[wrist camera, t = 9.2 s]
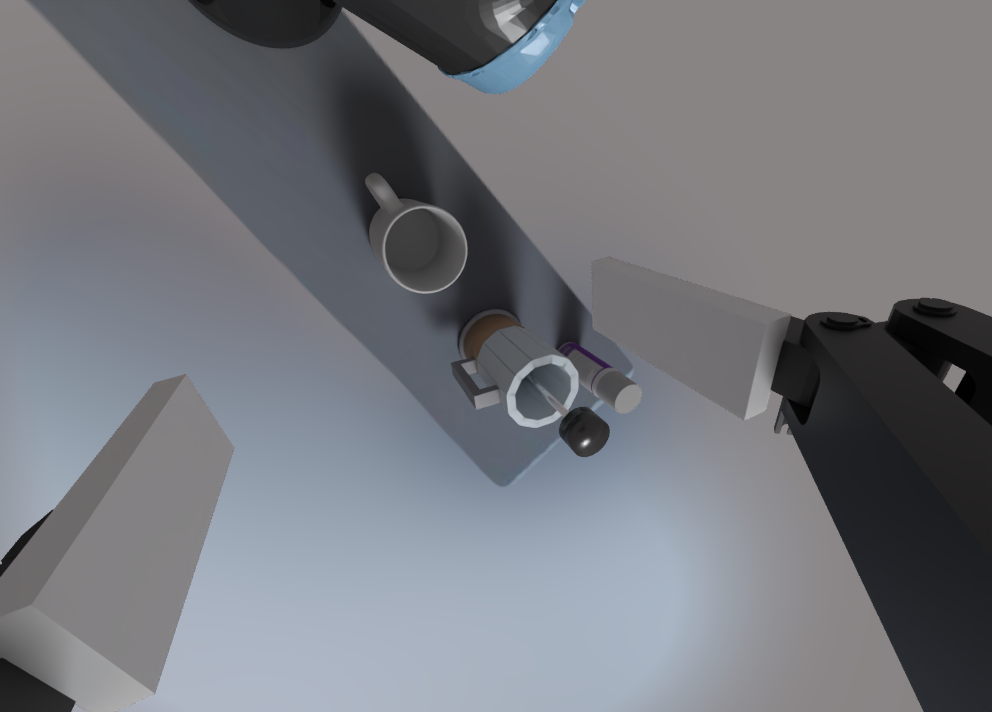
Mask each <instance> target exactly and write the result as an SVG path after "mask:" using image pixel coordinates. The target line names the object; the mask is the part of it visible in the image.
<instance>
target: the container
mask: <svg viewBox="0 0 992 712" xmlns="http://www.w3.org/2000/svg"><path fill="white" fill-rule="evenodd" d="M557 351H558V352H560V353H561V354H562V355H564V356H565V357H567V358H568V359H569V360H570V361H571V363H572V364H573V366H574V367H575V369H576V370H577V371H578V382H579V383H580V384H582V385H583V386H584V387H585V388H587V389H588V390H589V391H590V392H592V393H593V394H594V395H595V396H597V397H598V398H600V399H601V400H602V401H604V402H605V403H606V404H608V405H609V406H610V407H612V408H613V409H614V410H616V411H617V412H618V413H621V414H625V413H628V412H630V411H632V410H633V409H634V408H635V407H636V406H637V405H638V404H639V402H640V400H641V397H642V390H641V387H640V386H638V385H637V384H636V383H634V382H633V381H631V380H630V379H629V378H627V377H626V376H624V375H623V374H621V373H620V372H619V371H617V370H616V369H614V368H613V367H611V366H610V365H608V364H607V363H605V362H604V361H602V360H601V359H599V358H598V357H596V356H594V355H593V354H591V353H590V352H588V351H587V350H585V349H584V348H582V347H581V346H579V345H578V344H576V343H574V342H567V343H565V344H563V345H562V346H560V348H559V349H558V350H557Z"/></svg>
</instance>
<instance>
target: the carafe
mask: <svg viewBox="0 0 992 712" xmlns="http://www.w3.org/2000/svg"><path fill="white" fill-rule="evenodd" d="M458 346H459V353H460V356H461V358H462V360H460V361H456V362H453V363H451V366H452V371H453V376H454V377H455V379H456V380H457V382H458V383H459V385H460V386H461V388H462V389H463V391H464V392H465V394H466V395H467V397H468V398H469V400H470V401H471V403H472V404H473V406H474V407H475V409H476V410H478V409H481V408H484V407H487V406H490V405H493V404H497V403H500V404H501V405H502V406H503V407H504V409H505V410H506V411H507V412H508V414H509V415H510V416H511V417H512V418H513V419H514V420H515V421H516V422H517V423H518V424H519V425H521V426H527V427H533V428H538V427H541V426H543V425H546V424H549V423H552V422H554V421H556V420H557V419H558V418H559V417H560V416H561V414H560V413H559V412H558V411H557V410H556V409H555V408H554V407H553V406H552V405H551V404H550V403H549V402H548V401H547V400H546V399H545V398H544V397H543V396H542V395H541V394H540V393H539V392H538V391H537V390H536V389H535V388H534V387H533V386H532V385H531V384H530V383H529V382H528V381H527V380H526V379H525V378H524V377H525V376H526V375H527V374H530V375H531V376H532V377H533V378H534V379H535V380H536V381H537V382H538V383H539V384H541V385H542V386H543V387H544V388H545V389H546V390H547V391H548V392H549V393H550V394H551V395H552V396H553V397H554V398H555V399H556V400H557V401H558V402H559V403H561V404H562V405H563V406H564V407H565V408H566V409H567V410H568V409H569V408H570V406H571V404H572V402H573V400H574V398H575V396H576V394H577V392H578V371H577V370H576V369H575V367H574V366H573V364H572V363H571V361H570V360H569V359H568V358H567V357H565V356H564V355H562V354H561V353H560V352H558V351H557V350H556V349H554V348H553V347H552V346H550V345H549V344H548V343H546V342H545V341H543V340H542V339H541V338H539V337H538V336H537V335H535V334H534V333H533V332H531V331H530V330H527V329H525V328H524V327H523V326H521V323H520V322H519V320H518V319H517V318H516V317H515V316H514V315H512V314H511V313H509V312H508V311H505V310H502V309H496V308H495V309H487V310H483V311H481V312H479V313H477V314H476V315H474V316H473V317H472V318H471V319H470V320H469V321H468V322H467V323H466V324H465V326H464V327H463V329H462V331H461V334H460V337H459V344H458ZM476 372H477V373H478V375H479V377H480V378H481V379H482V381H483V382H484V383H485V384H486V386H487V388H484V389H479V388H478V387H477V385H476V384H475V383H474V381H473V380H472V379H471V377H470V376H469V374H472V373H476ZM523 378H524V379H523ZM522 379H523V380H522ZM568 407H569V408H568Z"/></svg>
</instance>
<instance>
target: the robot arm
mask: <svg viewBox="0 0 992 712" xmlns="http://www.w3.org/2000/svg"><path fill="white" fill-rule="evenodd" d="M188 1H189V2H190V3H191V4H192V5H193V6H194V7H195V8H197V9H198V10H199V11H200V12H201V13H202V14H203V15H205V16H206V17H207V18H208V19H209V20H211V21H212V22H214V23H215V24H216V25H218V26H219V27H221V28H222V29H224V30H225V31H227V32H229V33H231V34H232V35H234V36H236V37H238V38H240V39H243V40H245V41H248V42H250V43H253V44H257V45H260V46H265V47H270V48H294V47H299V46H303V45H305V44H308V43H310V42H312V41H314V40H316V39H318V38H319V37H320V36H322V35H323V34H324V33H325V32H326V31H327V30H328V29H329V28H330V27H331V26H332V25H333V23H334V22H335V20H336V19H337V17H338V15H339V13H340V11H341V9H342V7H343V8H345V9H347V10H348V11H350V12H351V13H353V14H355V15H356V16H358V17H360V18H361V19H363V20H364V21H366V22H368V23H369V24H371V25H372V26H374V27H376V28H377V29H379V30H380V31H382V32H384V33H386V34H387V35H389V36H390V37H392V38H393V39H395V40H397V41H398V42H400V43H401V44H403V45H405V46H406V47H408V48H409V49H411V50H413V51H414V52H416V53H418V54H419V55H421V56H422V57H424V58H426V59H427V60H429V61H430V62H432V63H434V64H435V65H437V66H438V68H439V70H440V71H441V72H442V73H443V74H445V75H446V76H448V77H452V78H454V79H460V80H461V81H463V82H465V83H467V84H469V85H470V86H472V87H474V88H476V89H478V90H479V91H482V92H484V93H491V94H501V93H505V92H508V91H510V90H512V89H514V88H516V87H518V86H519V85H521V84H522V83H524V82H525V81H526V80H527V79H528V78H530V77H531V76H532V75H533V74H534V73H535V72H536V71H537V70H538V69H539V68H540V67H541V66H542V65H543V64H544V63H545V61H546V60H547V59H548V58H549V57H550V55H551V54H552V53H553V52H554V51H555V49H556V48H557V47H558V45H559V44H560V42H561V41H562V39H563V38H564V37H565V35H566V34H567V32H568V31H569V29H570V28H571V26H572V24H573V22H574V18H573V16H574V13H575V12H576V10H577V9H578V8H579V7H580V6H581V5H582V4H583V3H584V2H585V1H586V0H188ZM592 310H593V329H594V330H596V331H597V332H599V333H601V334H602V335H604V336H605V337H607V338H609V339H610V340H612V341H614V342H615V343H617V344H619V345H620V346H622V347H624V348H626V349H627V350H629V351H630V352H632V353H634V354H635V355H637V356H639V357H640V358H642V359H643V360H645V361H647V362H648V363H650V364H652V365H653V366H655V367H657V368H658V369H660V370H662V371H663V372H665V373H667V374H668V375H670V376H672V377H673V378H675V379H677V380H678V381H680V382H681V383H683V384H685V385H686V386H688V387H690V388H691V389H693V390H695V391H696V392H698V393H700V394H701V395H703V396H704V397H706V398H708V399H709V400H711V401H713V402H714V403H716V404H718V405H719V406H721V407H723V408H724V409H726V410H728V411H729V412H731V413H733V414H734V415H736V416H737V417H739V418H741V419H742V420H746V419H748V418H751V417H753V416H755V415H757V414H759V413H761V412H764V411H766V408H767V404H768V401H769V397H770V393H771V390H772V391H774V392H776V393H778V394H780V395H782V396H783V398H782V402H781V406H780V409H779V412H778V416H777V419H776V423H775V427H774V431H775V433H780V431H781V427H782V426H783V425H784V424H788V426H789V428H788V431H787V434H790V435H793V436H794V438H795V440H796V443H797V445H798V447H799V449H800V451H801V453H802V455H803V457H804V460H805V461H806V464H807V466H808V468H809V470H810V472H811V474H812V477H813V479H814V481H815V483H816V485H817V487H818V489H819V491H820V493H821V496H822V498H823V500H824V502H825V504H826V506H827V508H828V510H829V512H830V515H831V516H832V519H833V521H834V523H835V525H836V527H837V529H838V531H839V534H840V536H841V538H842V540H843V542H844V544H845V546H846V548H847V550H848V553H849V555H850V557H851V559H852V561H853V563H854V565H855V567H856V570H857V572H858V574H859V576H860V578H861V580H862V582H863V584H864V586H865V589H866V591H867V593H868V595H869V597H870V599H871V601H872V603H873V606H874V608H875V610H876V612H877V614H878V616H879V618H880V620H881V623H882V625H883V626H884V629H885V631H886V633H887V635H888V637H889V639H890V641H891V644H892V646H893V647H894V650H895V652H896V654H897V656H898V658H899V661H900V662H901V665H902V667H903V669H904V671H905V673H906V675H907V677H908V680H909V682H910V684H911V686H912V688H913V690H914V692H915V694H916V697H917V699H918V701H919V703H920V705H921V707H922V709H923V711H924V712H992V317H990V316H988V315H985V314H983V313H980V312H978V311H975V310H973V309H970V308H968V307H965V306H961V305H958V304H955V303H951V302H948V301H945V300H942V299H935V298H932V299H930V298H920V299H907V300H902V301H899V302H897V303H895V304H894V306H893V309H892V311H891V313H890V316H889V318H888V321H885V322H879V323H874V322H873V321H871V320H869V319H868V318H866V317H862V316H857V315H852V314H848V313H841V312H821V313H815V314H812V315H809V316H808V317H807V318H806V319H805V320H802V319H798V318H795V317H792V316H791V314H789V313H786V312H782V311H779V310H776V309H773V308H770V307H767V306H763V305H760V304H757V303H754V302H751V301H748V300H744V299H741V298H738V297H735V296H731V295H728V294H726V293H722V292H719V291H716V290H713V289H710V288H707V287H703V286H700V285H697V284H694V283H691V282H688V281H684V280H681V279H678V278H675V277H672V276H669V275H666V274H662V273H659V272H656V271H653V270H650V269H646V268H643V267H640V266H637V265H634V264H631V263H628V262H624V261H621V260H618V259H615V258H612V257H606V258H602V259H599V260H595V261H592ZM952 364H954V365H956V366H957V367H959V368H961V369H963V370H965V371H966V374H965V375H964V377H963V378H962V380H961V382H960V384H959V386H958V388H957V389H956V391H955V393H954V392H953V391H952V390H951V389H949V388H948V387H947V386H946V385H945V384H944V383H943V380H944V378H945V377H946V375H947V372H948V371H949V369H950V367H951V365H952ZM233 451H234V447H233V445H232V443H231V442H230V440H229V439H228V437H227V436H226V434H225V433H224V431H223V429H222V428H221V426H220V425H219V424H218V422H217V420H216V419H215V417H214V416H213V414H212V413H211V411H210V409H209V408H208V406H207V405H206V403H205V402H204V400H203V399H202V397H201V396H200V394H199V393H198V391H197V389H196V388H195V386H194V385H193V383H192V382H191V380H190V379H189V377H188V376H187V374H184V375H181V376H177V377H174V378H170V379H166V380H163V381H159V382H156V383H154V384H153V385H152V387H151V388H150V389H149V390H148V392H147V393H146V394H145V396H144V397H143V398H142V399H141V401H140V402H139V403H138V404H137V405H136V407H135V408H134V409H133V411H132V412H131V413H130V414H129V416H128V417H127V418H126V419H125V421H124V422H123V423H122V424H121V426H120V427H119V428H118V429H117V431H116V432H115V433H114V434H113V436H112V437H111V438H110V440H109V441H108V442H107V443H106V445H105V446H104V447H103V449H102V450H101V451H100V452H99V453H98V455H97V456H96V457H95V458H94V460H93V461H92V462H91V463H90V465H89V466H88V467H87V469H86V470H85V471H84V472H83V474H82V475H81V476H80V477H79V479H78V480H77V481H76V482H75V484H74V485H73V486H72V487H71V489H70V490H69V491H68V493H67V494H66V495H65V496H64V498H63V499H62V500H61V501H60V503H59V504H58V505H57V506H56V508H55V509H54V510H51V511H50V512H49V513H48V514H47V515H46V516H44V517H43V518H42V519H41V520H40V521H38V522H37V523H36V524H35V525H34V526H32V527H31V528H30V529H29V530H28V531H26V532H25V533H24V534H23V535H22V536H21V537H20V538H19V540H18V541H17V542H16V543H15V544H14V546H13V547H12V548H11V549H10V550H9V552H8V553H7V554H6V555H5V557H4V558H3V559H2V560H1V561H2V564H1V565H0V712H71V711H72V708H73V707H74V704H75V705H77V706H78V707H80V708H82V709H83V710H85V711H87V712H117V711H119V710H121V709H123V708H126V707H128V706H130V705H132V704H134V703H136V702H138V701H140V700H143V699H145V698H147V697H149V696H151V695H153V694H155V692H156V689H157V686H158V683H159V680H160V677H161V674H162V671H163V667H164V664H165V661H166V658H167V655H168V652H169V649H170V645H171V643H172V640H173V637H174V633H175V630H176V627H177V624H178V621H179V618H180V615H181V612H182V608H183V606H184V602H185V599H186V596H187V593H188V590H189V587H190V584H191V581H192V578H193V575H194V572H195V568H196V565H197V562H198V559H199V556H200V553H201V550H202V547H203V544H204V541H205V538H206V535H207V531H208V528H209V525H210V522H211V519H212V516H213V513H214V510H215V506H216V503H217V500H218V497H219V494H220V491H221V488H222V485H223V482H224V479H225V476H226V473H227V470H228V467H229V463H230V460H231V457H232V454H233Z"/></svg>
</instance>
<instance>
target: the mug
mask: <svg viewBox="0 0 992 712" xmlns="http://www.w3.org/2000/svg"><path fill="white" fill-rule="evenodd" d="M365 183H366V186H367V187H368V189H369V191H370V192H371V194H372V195H373V197H374V198H375V200H376V201H377V203H378V204H379V206H380V208H379V210H378V211H377V212H376V213H375V215H374V217H373V219H372V221H371V224H370V229H369V238H370V244H371V247H372V250H373V252H374V254H375V255H376V257H377V258H378V259H379V261H380V262H381V263H382V265H383V266H384V267H385V269H386V270H387V272H388V273H389V275H390V276H391V277H392V278H393V279H394V280H395V281H396V282H397V283H398V284H399V285H401V286H402V287H404V288H406V289H408V290H410V291H413V292H417V293H434V292H438V291H441V290H443V289H445V288H447V287H448V286H450V285H451V284H452V283H453V282H454V281H455V280H456V279H457V278H458V277H459V275H460V274H461V272H462V270H463V268H464V266H465V263H466V259H467V240H466V236H465V234H464V231H463V229H462V227H461V225H460V224H459V222H458V221H457V220H456V219H455V218H454V217H453V216H452V215H451V214H450V213H448V212H447V211H446V210H444V209H442V208H440V207H437V206H434V205H431V204H426V203H422V202H419V201H416V200H412V199H398V197H397V196H396V194H395V193H394V191H393V190H392V189H391V187H390V186H389V184H388V183H387V182H386V180H385V179H384V178H383V177H382V176H381V175H380V174H378V173H371V174H369V175H368V176H367V177H366V179H365Z"/></svg>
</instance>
